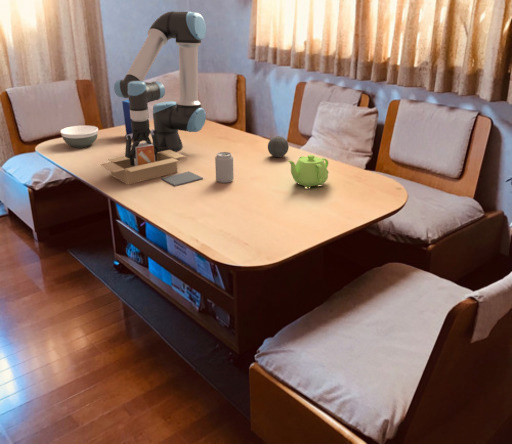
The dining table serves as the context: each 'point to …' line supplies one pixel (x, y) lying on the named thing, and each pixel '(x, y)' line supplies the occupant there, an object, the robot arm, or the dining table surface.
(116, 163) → the carton
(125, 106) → the book
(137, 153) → the small box
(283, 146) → the decorative ball
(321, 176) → the teapot
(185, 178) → the mat
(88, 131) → the bowl
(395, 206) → the dining table surface
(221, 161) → the can
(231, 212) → the dining table surface
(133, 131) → the robot arm
